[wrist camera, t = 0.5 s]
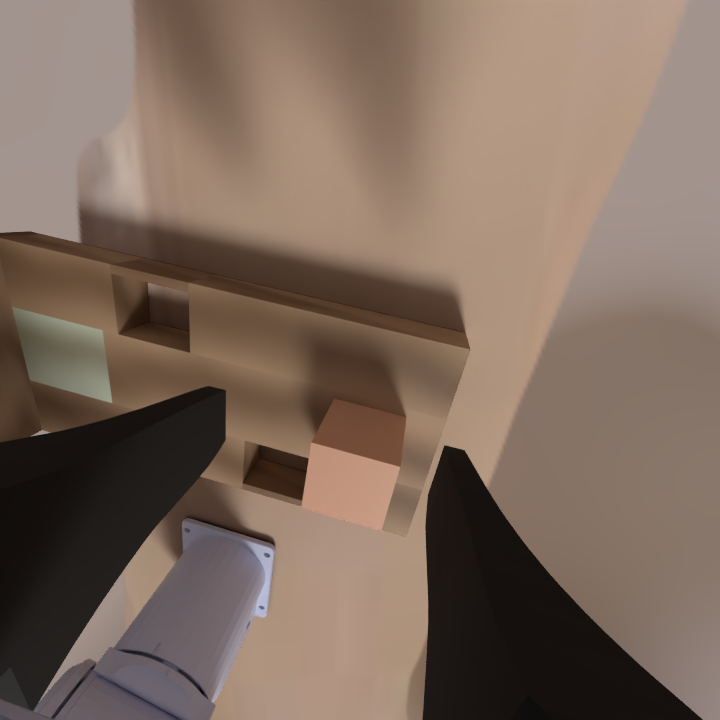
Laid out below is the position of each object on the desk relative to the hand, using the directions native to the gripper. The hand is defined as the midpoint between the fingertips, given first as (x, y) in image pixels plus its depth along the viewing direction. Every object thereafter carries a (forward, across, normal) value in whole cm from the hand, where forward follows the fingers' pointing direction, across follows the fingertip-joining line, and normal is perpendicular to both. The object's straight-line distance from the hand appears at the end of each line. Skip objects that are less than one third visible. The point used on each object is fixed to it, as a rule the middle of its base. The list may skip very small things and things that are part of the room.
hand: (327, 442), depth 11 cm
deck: (+10, +8, +5) cm, 14 cm away
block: (+7, -1, +5) cm, 9 cm away
